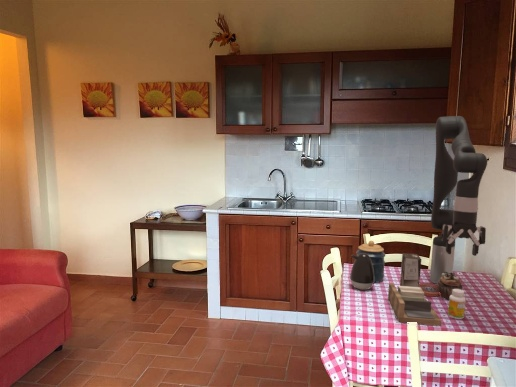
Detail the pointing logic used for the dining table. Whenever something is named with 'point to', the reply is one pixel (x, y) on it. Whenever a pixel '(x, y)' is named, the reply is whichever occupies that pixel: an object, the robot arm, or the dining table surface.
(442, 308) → the dining table surface
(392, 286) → the wooden tray
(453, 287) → the cupcake
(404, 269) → the coffee box
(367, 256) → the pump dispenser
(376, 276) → the canister
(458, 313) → the supplement bottle
